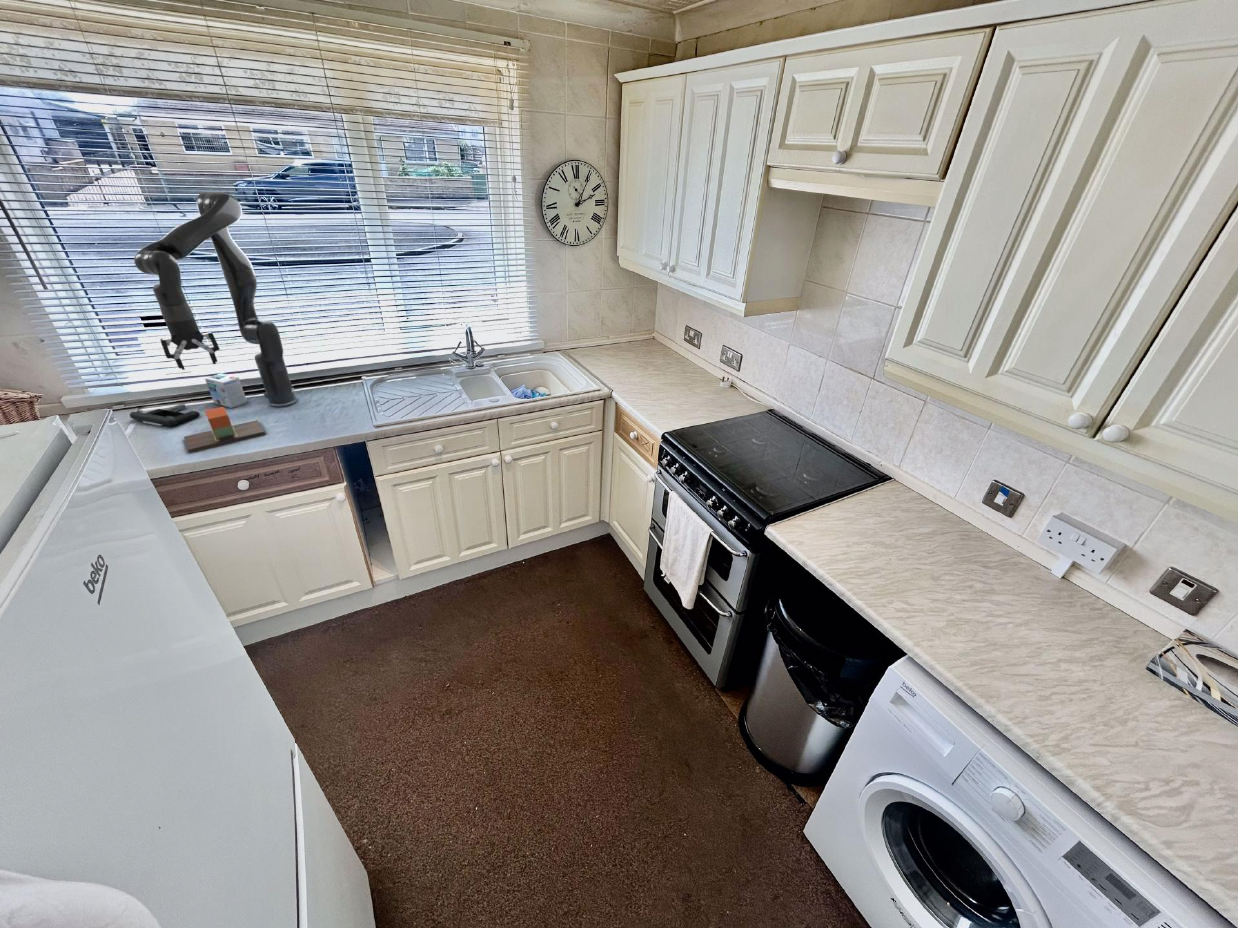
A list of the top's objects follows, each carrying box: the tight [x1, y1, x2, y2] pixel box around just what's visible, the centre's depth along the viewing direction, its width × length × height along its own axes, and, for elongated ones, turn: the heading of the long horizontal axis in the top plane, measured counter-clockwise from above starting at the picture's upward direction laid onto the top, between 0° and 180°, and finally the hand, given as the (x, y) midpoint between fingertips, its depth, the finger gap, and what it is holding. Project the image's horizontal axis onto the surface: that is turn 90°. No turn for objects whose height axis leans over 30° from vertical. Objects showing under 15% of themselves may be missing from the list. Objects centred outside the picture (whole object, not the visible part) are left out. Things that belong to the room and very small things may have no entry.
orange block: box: [204, 406, 233, 430], centre depth 179 cm, size 9×6×4 cm, turn 41°
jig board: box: [183, 419, 266, 453], centre depth 182 cm, size 12×22×2 cm, turn 131°
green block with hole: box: [209, 424, 235, 440], centre depth 181 cm, size 9×6×5 cm, turn 41°
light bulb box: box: [204, 372, 248, 409], centre depth 205 cm, size 11×7×11 cm, turn 68°
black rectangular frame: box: [129, 403, 200, 427], centre depth 195 cm, size 3×20×16 cm
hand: (199, 366), depth 173 cm, fingers open, 8 cm apart
